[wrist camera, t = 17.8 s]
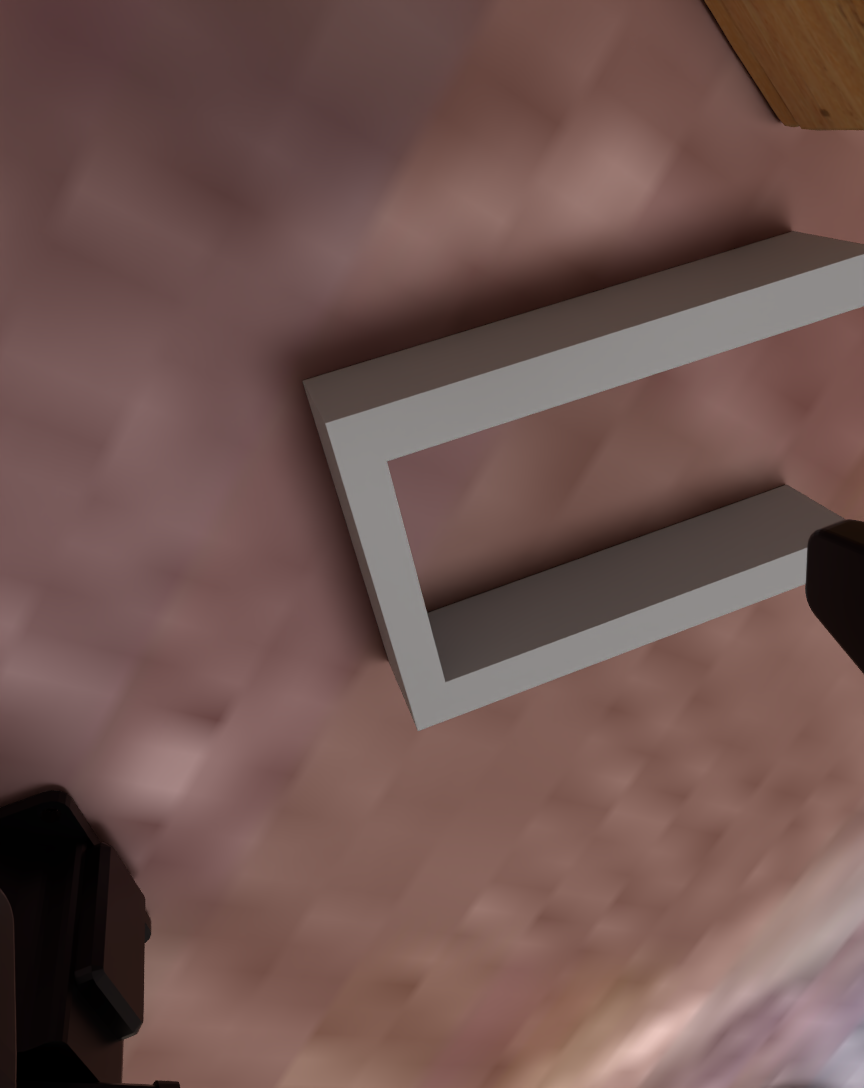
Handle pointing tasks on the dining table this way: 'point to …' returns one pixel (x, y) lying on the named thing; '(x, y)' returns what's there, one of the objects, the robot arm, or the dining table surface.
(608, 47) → the dining table surface
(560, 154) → the dining table surface
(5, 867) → the robot arm
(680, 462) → the dining table surface
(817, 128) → the tray
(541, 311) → the holder
